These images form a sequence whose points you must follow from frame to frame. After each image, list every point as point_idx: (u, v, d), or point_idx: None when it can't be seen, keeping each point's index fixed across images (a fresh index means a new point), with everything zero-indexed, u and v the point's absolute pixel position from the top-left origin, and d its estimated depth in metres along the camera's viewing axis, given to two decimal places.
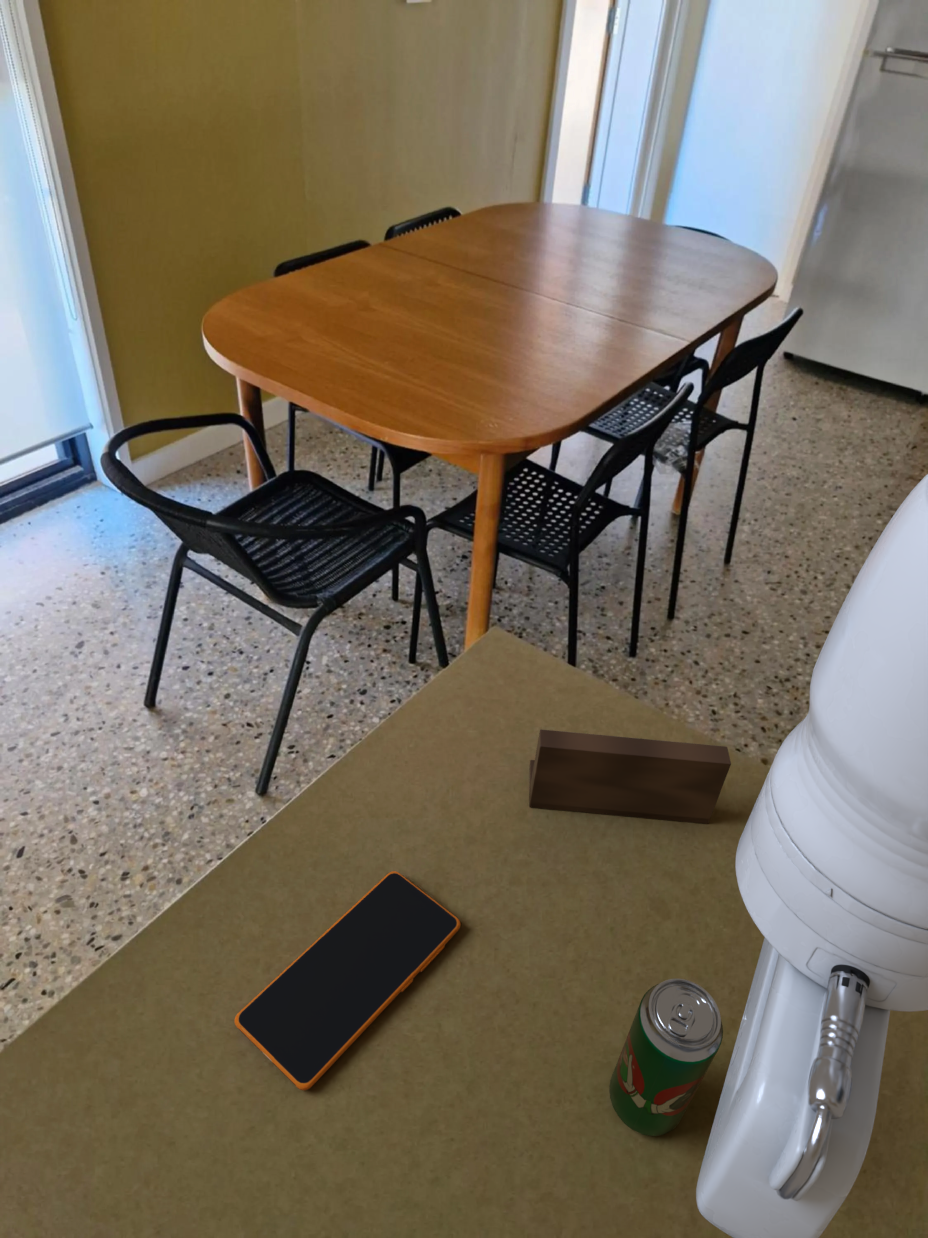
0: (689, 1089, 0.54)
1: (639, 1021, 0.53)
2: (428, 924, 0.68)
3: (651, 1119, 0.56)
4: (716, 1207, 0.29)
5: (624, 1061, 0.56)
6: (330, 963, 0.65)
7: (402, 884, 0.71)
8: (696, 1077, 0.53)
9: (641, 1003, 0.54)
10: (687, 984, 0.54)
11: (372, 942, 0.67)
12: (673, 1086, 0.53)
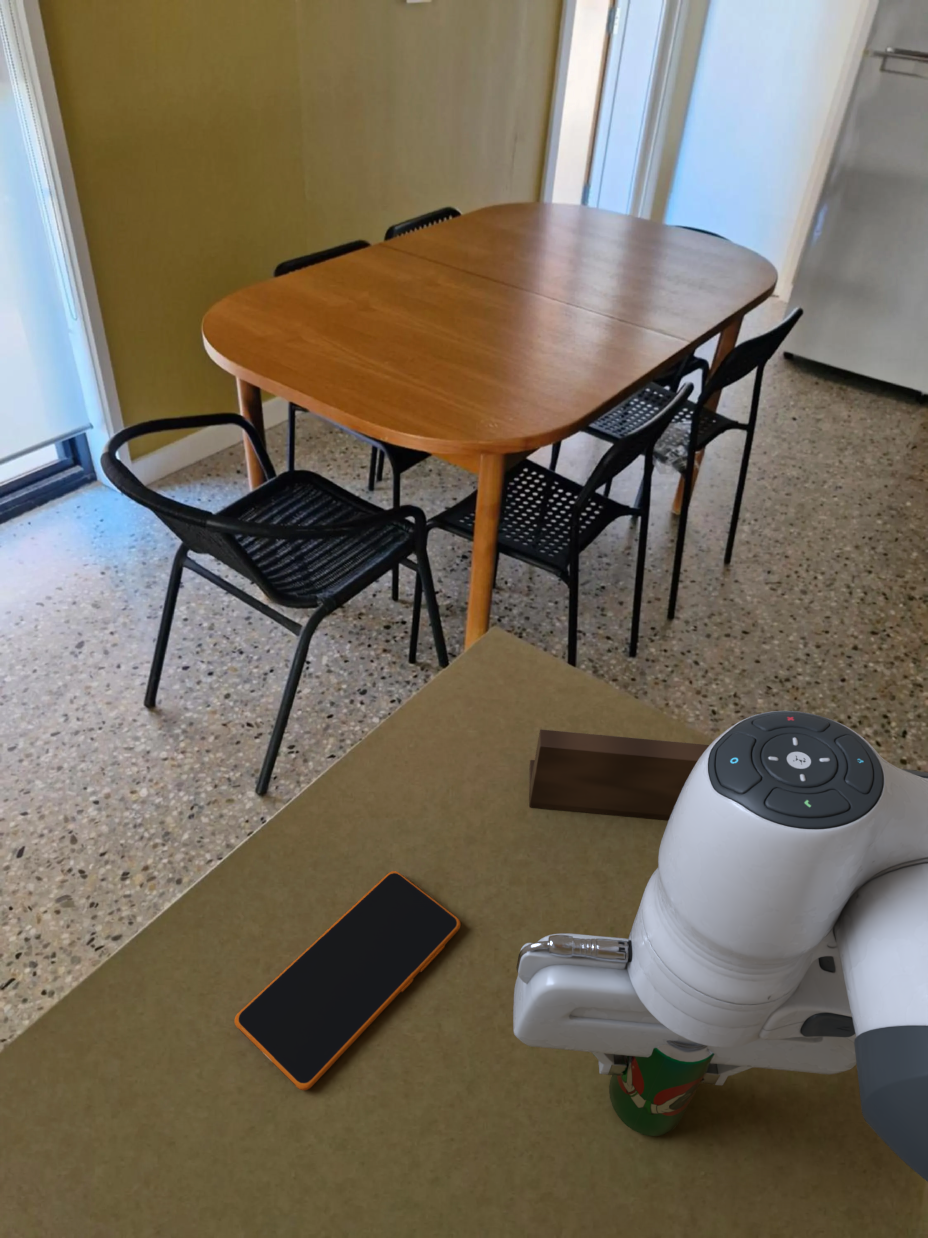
0: (689, 1089, 0.54)
1: None
2: (428, 924, 0.68)
3: (650, 1119, 0.56)
4: (516, 982, 0.54)
5: None
6: (330, 963, 0.65)
7: (402, 884, 0.71)
8: (696, 1077, 0.53)
9: None
10: None
11: (372, 942, 0.67)
12: (673, 1086, 0.53)
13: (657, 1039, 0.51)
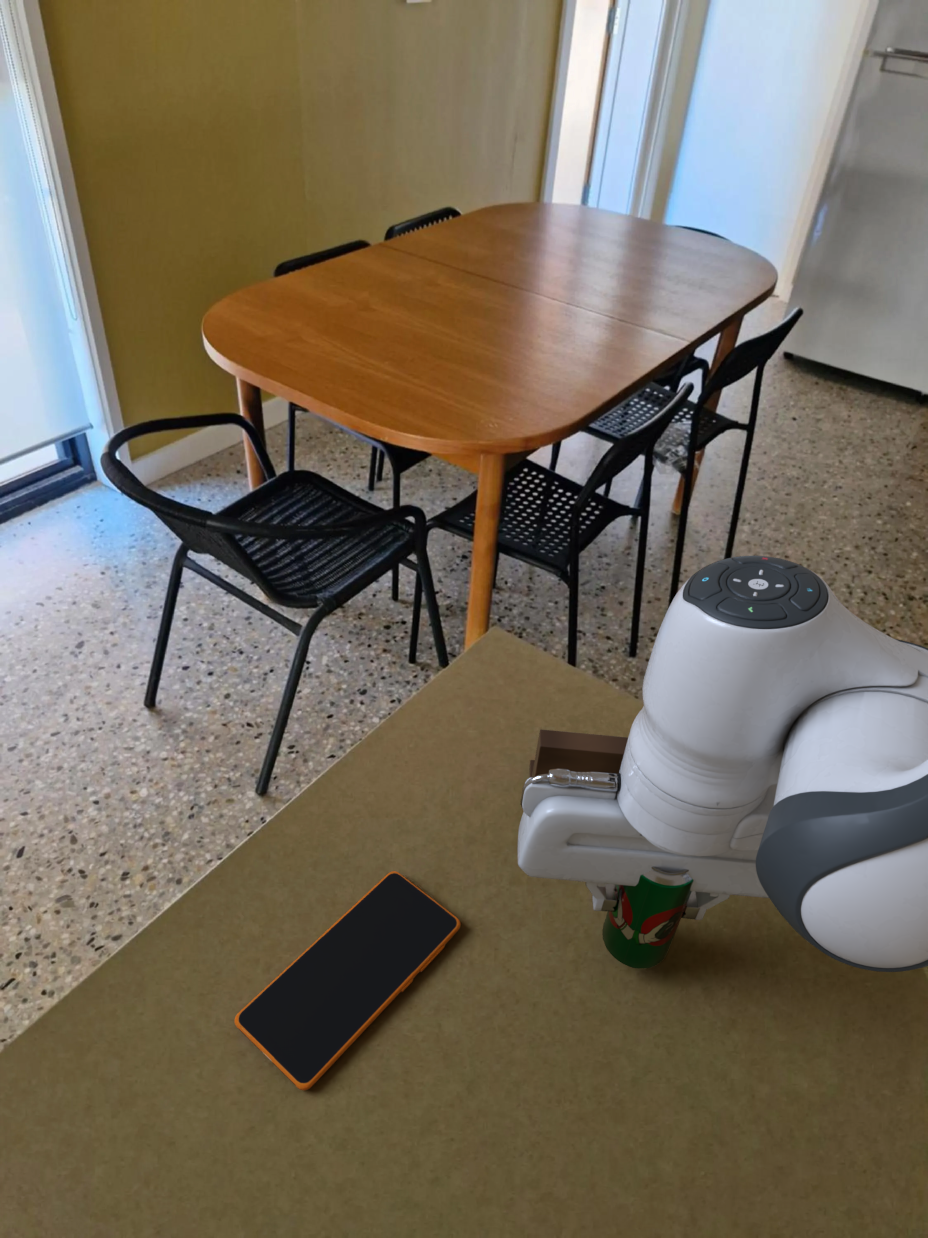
0: (672, 917, 0.61)
1: None
2: (428, 924, 0.68)
3: (638, 950, 0.64)
4: (520, 824, 0.62)
5: None
6: (330, 963, 0.65)
7: (402, 884, 0.71)
8: (677, 903, 0.60)
9: None
10: None
11: (372, 942, 0.67)
12: (657, 912, 0.61)
13: (643, 866, 0.59)
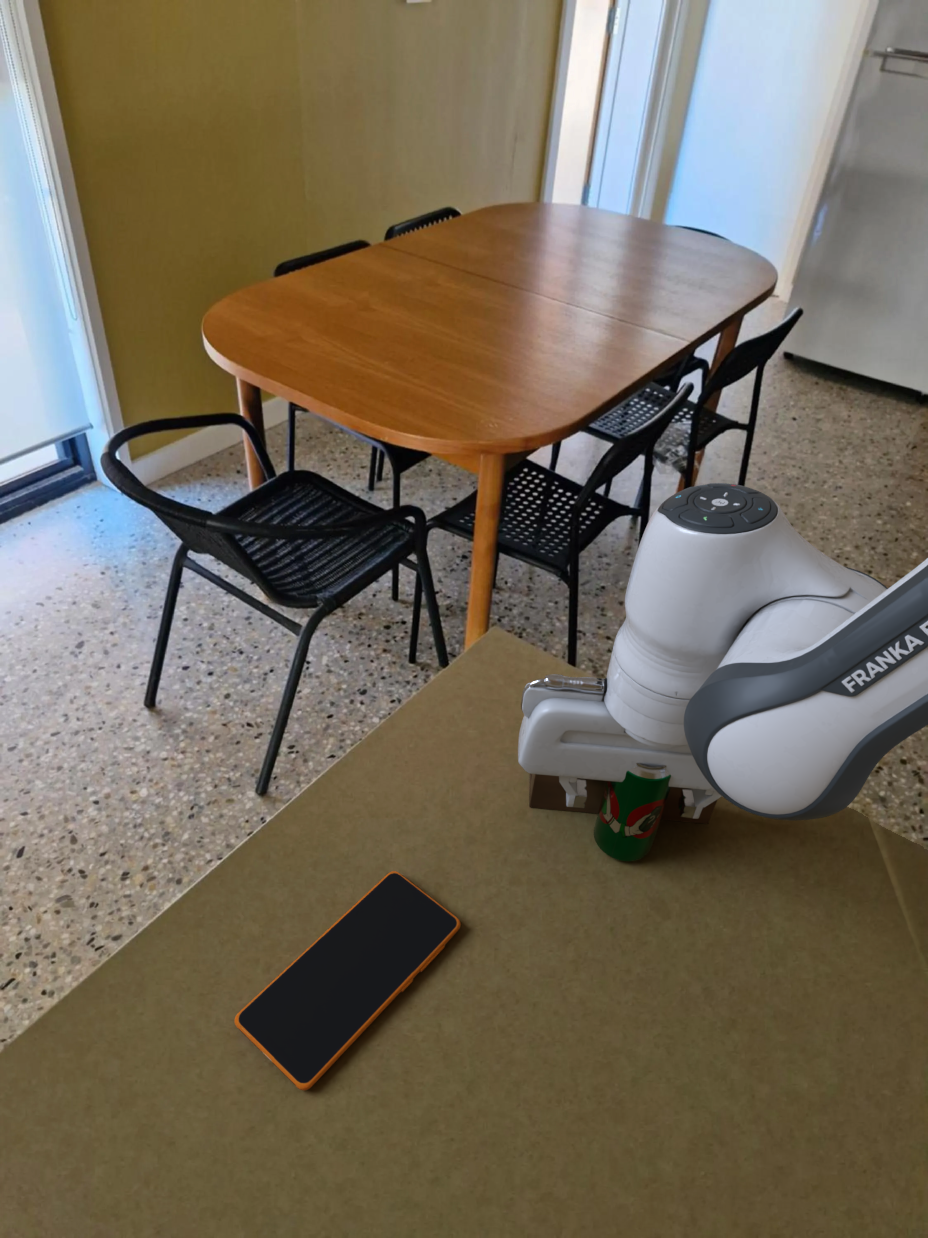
0: (653, 810, 0.71)
1: None
2: (428, 924, 0.68)
3: (624, 842, 0.73)
4: (520, 729, 0.71)
5: (604, 797, 0.73)
6: (330, 963, 0.65)
7: (402, 884, 0.71)
8: (658, 797, 0.70)
9: None
10: None
11: (372, 942, 0.67)
12: (640, 805, 0.70)
13: (627, 762, 0.68)
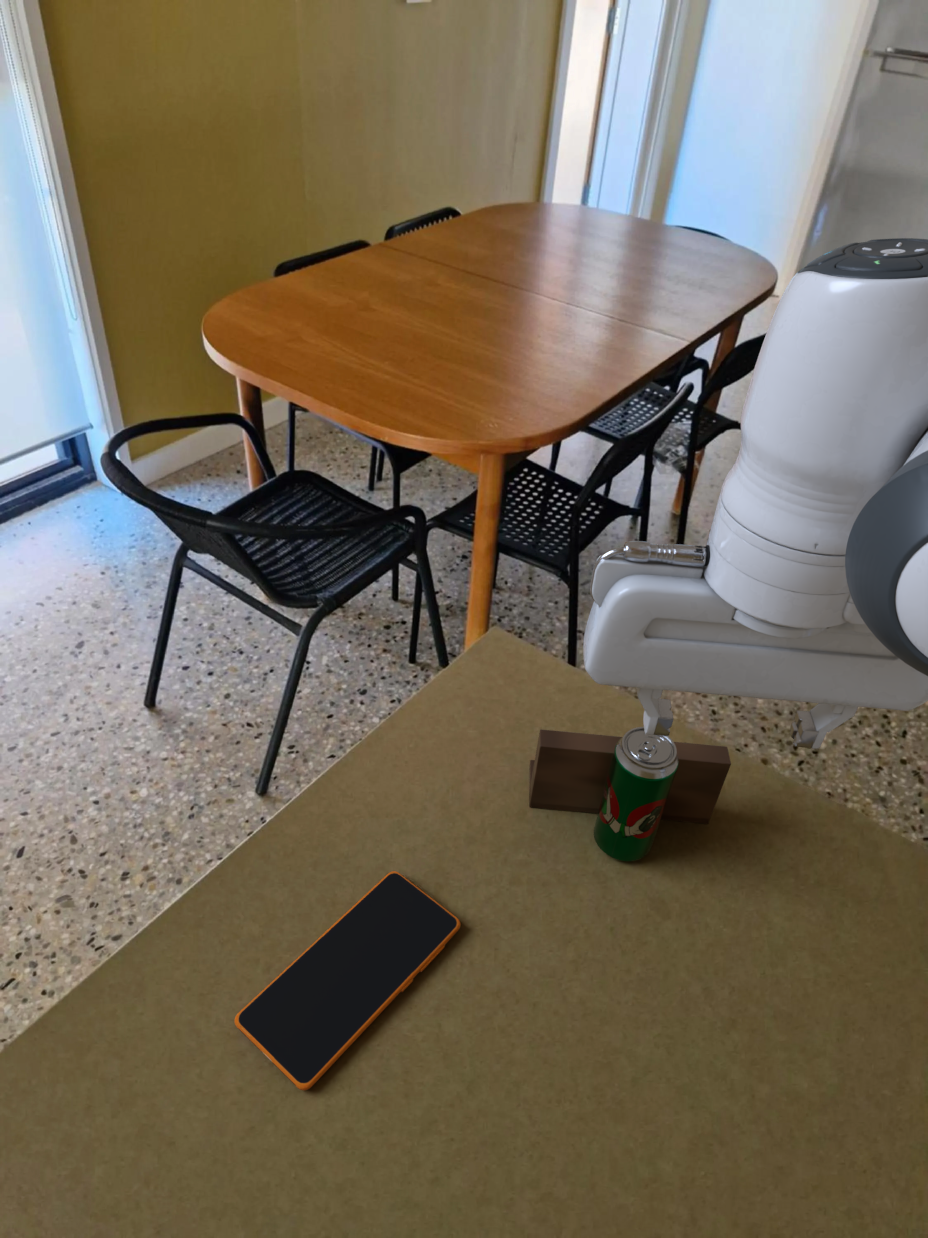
0: (653, 810, 0.71)
1: (615, 755, 0.70)
2: (428, 924, 0.68)
3: (624, 842, 0.73)
4: (586, 627, 0.54)
5: (604, 797, 0.73)
6: (330, 963, 0.65)
7: (402, 884, 0.71)
8: (658, 797, 0.70)
9: (616, 744, 0.71)
10: None
11: (372, 942, 0.67)
12: (640, 805, 0.70)
13: (732, 664, 0.51)
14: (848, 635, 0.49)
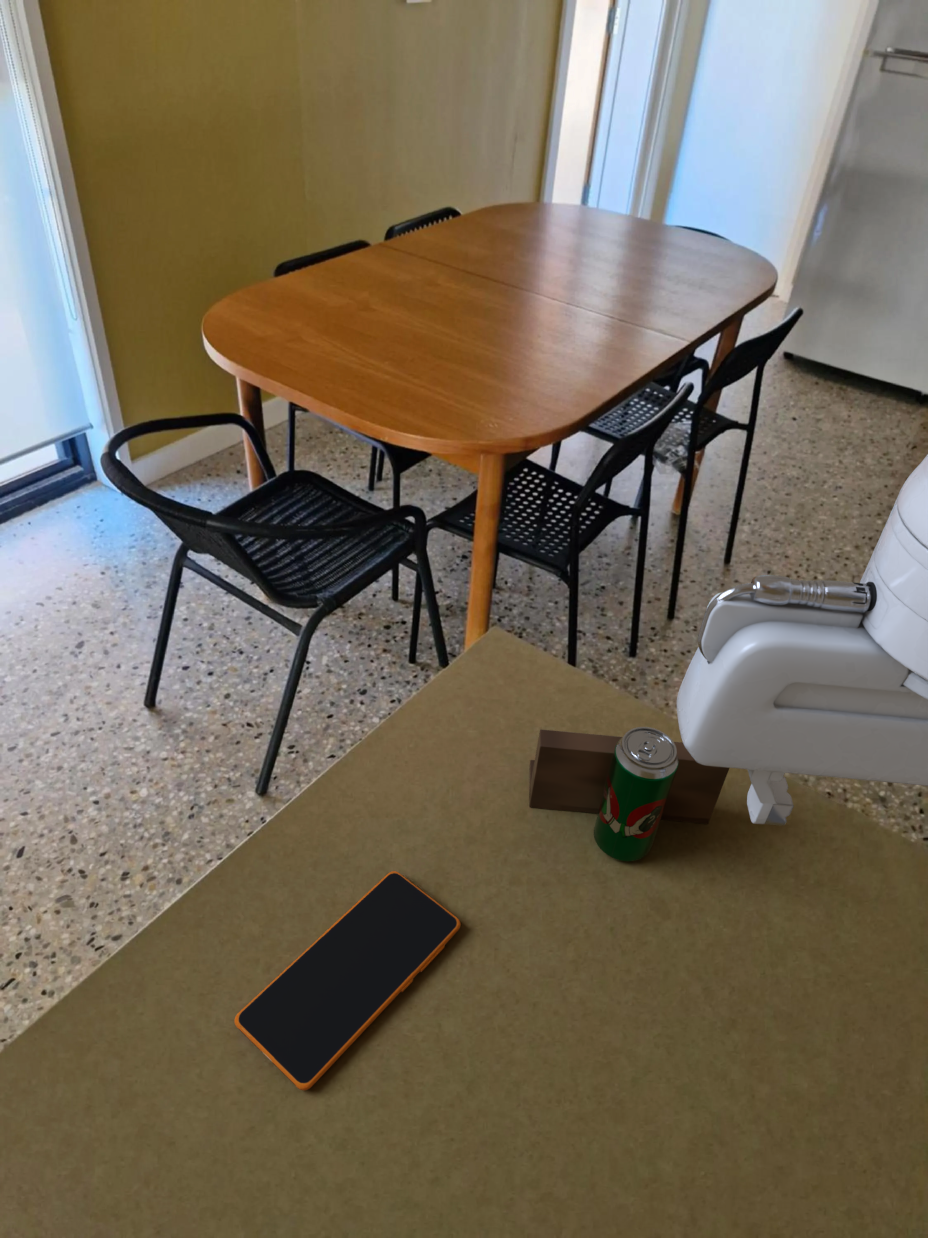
0: (653, 810, 0.71)
1: (615, 755, 0.70)
2: (428, 924, 0.68)
3: (624, 842, 0.73)
4: (683, 685, 0.40)
5: (604, 797, 0.73)
6: (330, 963, 0.65)
7: (402, 884, 0.71)
8: (658, 797, 0.70)
9: (616, 744, 0.71)
10: (652, 730, 0.71)
11: (372, 942, 0.67)
12: (640, 805, 0.70)
13: (891, 743, 0.37)
14: None
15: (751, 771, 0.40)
